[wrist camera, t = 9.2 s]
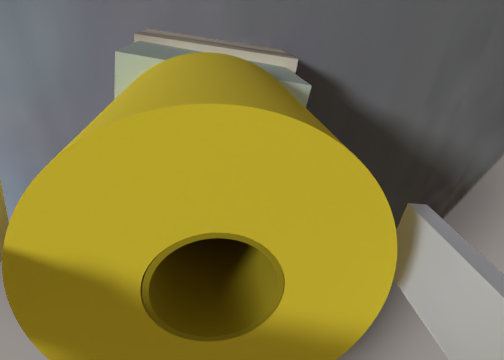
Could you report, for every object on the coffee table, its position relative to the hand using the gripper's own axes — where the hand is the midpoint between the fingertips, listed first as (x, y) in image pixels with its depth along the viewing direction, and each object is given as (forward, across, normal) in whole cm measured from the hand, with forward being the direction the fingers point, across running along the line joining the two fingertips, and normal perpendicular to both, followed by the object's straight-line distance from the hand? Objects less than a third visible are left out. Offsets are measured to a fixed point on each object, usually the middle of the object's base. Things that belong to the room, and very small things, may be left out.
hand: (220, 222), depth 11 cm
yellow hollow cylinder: (+7, 0, 0) cm, 7 cm away
